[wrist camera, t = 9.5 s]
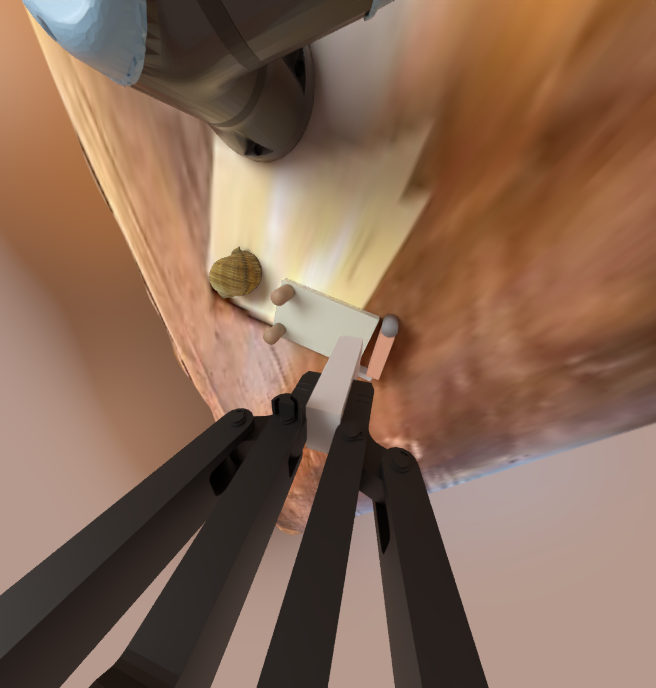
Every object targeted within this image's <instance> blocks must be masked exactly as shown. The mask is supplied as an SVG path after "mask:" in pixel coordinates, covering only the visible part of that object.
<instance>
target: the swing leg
mask: <svg viewBox="0 0 656 688" xmlns="http://www.w3.org/2000/svg"><path fill="white" fill-rule="evenodd" d="M398 322H399V321H398V318H397V317H396V316H395V315H392V314H390V315H387V316H385V317H384V319H383V323H382V326H381V329H380V332H379V335H378V338H377V341H376V344H375V347H374V350H373V353H372V356H371V359H370V362H369V365H368V369H367V373H366V376H368V377H371V378H374V379H377V380H379V378H380V375H381V373H382V370H383V367H384V365H385V362H386V360H387V357H388V354H389V352H390V349H391V346H392V344H393V341H394V339H395V336H396V335H397V333H398Z"/></svg>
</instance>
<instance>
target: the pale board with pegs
mask: <svg viewBox="0 0 656 688" xmlns="http://www.w3.org/2000/svg"><path fill="white" fill-rule="evenodd" d="M271 300H272V302H273V303H274V304H275V305H277V308H276V313H275V318H274V323H273V326H272V327H271V328H270V329H269V330H267V331H266V332H265V333H264V335H263V338H264V340H265V342H267V343H268V344H271V345H272V344H275V343H276V342H277V341H278V340H279V339H280V338H281V337H283V338H286V339H288V340H290V341H293V342H295V343H297V344H300V345H302V346H304V347H306V348H309V349H311V350H313V351H316V352H318V353H320V354H323V355H325V356H327V357H330V356H331V354H332V352H333V350H334V348H335V346H336V343H337V341H338V339H339V337H340V335H343V336H349V337H355V338H361V339H363V346H362V353H361V356H362V354H363V352H364V350H365V348H366V346H367V344H368V342H369V340H370V338H371V336H372V334H373V332H374V330H375V328H376V325H377V323H378V321H379V318H380V317H379V316H377V315H374V314H372V313H370V312H367V311H365V310H362V309H360V308H357V307H355V306H352V305H350V304H348V303H345V302H343V301H340V300H338V299H335V298H333V297H331V296H328V295H326V294H323V293H321V292H318V291H316V290H314V289H311V288H309V287H306V286H304V285H301V284H299V283H296V282H294V281H292V280H289V279H287V278H285V279H284V280H282V283H281V287H280V288H278V289H276V290H275V291H273V292H272V293H271ZM367 369H368V368H367V367H364V366H362V365H360V368H359V374H358V376H359V377H361V378H363V379H366V380H368V381H371V379H372V378H371V377H368V376H366V373H367Z"/></svg>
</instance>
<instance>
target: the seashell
mask: <svg viewBox="0 0 656 688" xmlns="http://www.w3.org/2000/svg"><path fill="white" fill-rule="evenodd" d="M209 277H210V283H211V285H212V286H213V287H214V289H215V290H217V291H218V293H219V294H220V295H221V297H222V298H228V297H234V296H241V295H245V294H247V293H250V292H251V291H253V290H254V289H255V288H257V286H258V285H259V283H260V280H261V266H260V263H259V261H258V259H257V258H256V256H255V255H254V254H252V253H249V252H247V251H242V250H240V247H238V248H236V249H235V250H233V251H232V253H231V256H228V257H225V258H222V259H220V260H218V261H216V262H215V263H214V264H213V266H212V268H211V270H210V276H209Z"/></svg>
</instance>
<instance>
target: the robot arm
mask: <svg viewBox="0 0 656 688" xmlns="http://www.w3.org/2000/svg"><path fill="white" fill-rule="evenodd" d="M393 1H394V0H22V2H23V3H24V5H25V6H26V7H27V9H28V10H29V11H30V13H31V14H32V16H33V17H34V18H35V19H36V21H37V22H38V23H39V24H40V25H41V27H42V28H43V29H44V30H45V31H46V32H47V34H48V35H49V36H50V37H51V38H52V39H53V40H55V41H56V42H57V43H59V44H60V46H61V47H62V48H64V49H65V50H66V51H67V52H68V53H70V54H71V55H72V56H74V57H75V58H77V59H78V60H80V61H82V62H83V63H85V64H87V65H89V66H90V67H92V68H94V69H95V70H97V71H99V72H101V73H102V74H104V75H106V76H107V77H109V78H110V79H111V80H112V81H113V82H115V83H117V84H119V85H123V86H125V87H126V85H127V86H128V87H131V88H134V89H136V90H138V91H140V92H142V93H144V94H146V95H149V96H151V97H153V98H155V99H157V100H159V101H161V102H164V103H166V104H168V105H170V106H172V107H174V108H177V109H179V110H181V111H183V112H185V113H187V114H189V115H192V116H194V117H196V118H198V119H200V120H203V121H205V122H207V123H208V125H209V126H210V127H211V128H212V129H213V130H214V131H215V133H216V134H217V135H218V136H219V137H220V138H221V139H222V141H223V142H224V143H225V144H226V145H227V146H229V147H230V148H231V149H232V150H234V151H235V152H237V153H238V154H240V155H242V156H244V157H247V158H249V159H252V160H255V161H260V162H269V161H274V160H277V159H279V158H281V157H283V156H285V155H286V154H287V153H289V152H290V151H291V150H292V149H293V148H294V147H295V145H296V144H297V143H298V142H299V140H300V138H301V137H302V135H303V133H304V131H305V129H306V127H307V124H308V121H309V118H310V115H311V111H312V106H313V99H314V68H313V61H312V56H311V52H310V48H309V44H311V43H313V42H315V41H317V40H319V39H321V38H323V37H325V36H327V35H329V34H331V33H333V32H335V31H337V30H339V29H341V28H343V27H345V26H347V25H349V24H351V23H353V22H355V21H357V20H359V19H361V18H364V21H367V20H369V19H371V18H372V17H373V16H374V15H375V13H376V12H377V10H378V9H380V8H382V7H384V6H386V5H387V4H389V3H391V2H393ZM362 346H363V339H361V338H355V337H349V336H343V335H340V337H339V339H338V341H337V343H336V346H335V348H334V350H333V352H332V354H331V356H330V358H329V360H328V362H327V364H326V366H325V368H324V370H323V372H322V373H317V372H312V371H308V372H307V373H305V374H304V375H302V377H301V379H300V380H299V383H298V384H297V385H296V388H295V389H294V390H293V392H292V394H290V393H285V394H280V395H278V396H276V397H274V398H273V399H272V400H271V402H272V411H273V415H269V416H253V414H252V412H251V411H249V410H248V409H244V408H239V409H235V410H232V411H230V412H228V413H227V414H225V415H224V416H223V417H222V418H220V419H219V420H218V421H217V422H215V423H214V424H213V425H212V426H210V427H209V428H208V429H207V430H206V431H204V432H203V433H202V434H201V435H199V436H198V437H197V438H195V439H194V440H193V441H192V442H190V443H189V444H188V445H187V446H186V447H184V448H183V449H182V450H181V451H179V452H178V453H177V454H176V455H174V456H173V457H172V458H171V459H169V460H168V461H167V462H166V463H165V464H163V465H162V466H161V467H159V468H158V469H157V470H156V471H154V472H153V473H152V474H151V475H149V476H148V477H147V478H146V479H144V480H143V481H142V482H141V483H140V484H139V485H137V486H136V487H135V488H133V489H132V490H131V491H130V492H128V493H127V494H126V495H125V496H123V497H122V498H121V499H120V500H118V501H117V502H116V503H115V504H113V505H112V506H111V507H110V508H109V509H107V510H106V511H105V512H103V513H102V514H101V515H100V516H99V517H97V518H96V519H95V520H94V521H92V522H91V523H90V524H89V525H87V526H86V527H85V528H84V529H82V530H81V531H80V532H79V533H77V534H76V535H75V536H74V537H72V538H71V539H70V540H69V541H67V542H66V543H65V544H64V545H63V546H61V547H60V548H59V549H57V550H56V551H55V552H54V553H52V554H51V555H50V556H49V557H48V558H46V559H45V560H44V561H43V562H41V563H40V564H39V565H38V566H36V567H35V568H34V569H33V570H31V571H30V572H29V573H28V574H26V575H25V576H24V577H23V578H21V579H20V580H19V581H18V582H17V583H15V584H14V585H13V586H11V587H10V588H9V589H8V590H6V591H5V592H4V593H3V594H2V595H0V688H60V687H61V685H62V684H63V683H64V682H65V681H66V680H67V679H68V677H69V676H70V675H71V674H72V673H73V672H74V671H75V669H76V668H77V667H78V666H79V665H80V664H81V663H82V661H83V660H84V659H85V658H86V657H87V655H89V653H90V652H91V651H92V650H93V649H94V648H95V647H96V645H97V644H98V643H99V642H100V641H101V640H102V639H103V638H104V636H105V635H106V634H107V633H108V632H109V631H110V630H111V628H112V627H113V626H114V625H115V624H116V623H117V622H118V620H119V619H120V618H121V617H122V616H123V615H124V614H125V612H126V611H127V610H128V609H129V608H130V607H131V606H132V605H133V603H134V602H135V601H136V600H137V599H138V598H139V597H140V595H141V594H142V593H143V592H144V591H145V590H146V588H147V587H148V586H149V585H150V584H151V583H152V582H153V581H154V579H155V578H156V577H157V576H158V575H159V574H160V572H161V571H162V570H163V569H164V568H165V567H166V566H167V565H168V563H169V562H170V561H171V560H172V559H173V558H174V557H175V556H176V554H177V553H178V552H179V551H180V550H181V549H182V548H183V546H184V545H185V544H186V543H187V542H188V541H189V540H190V538H191V537H192V536H193V535H194V534H195V533H196V532H197V530H198V529H199V528H200V527H201V526H202V525H203V524H204V525H203V527H202V528H201V530H200V531H199V533H198V535H197V536H196V538H195V539H194V541H193V543H192V544H191V546H190V547H189V549H188V551H187V552H186V554H185V555H184V557H183V559H182V560H181V562H180V563H179V565H178V567H177V568H176V570H175V571H174V573H173V574H172V576H171V578H170V579H169V581H168V582H167V584H166V586H165V587H164V589H163V590H162V592H161V594H160V595H159V597H158V599H157V600H156V602H155V603H154V605H153V606H152V608H151V610H150V611H149V613H148V614H147V616H146V618H145V619H144V621H143V622H142V624H141V626H140V627H139V629H138V630H137V632H136V634H135V635H134V637H133V638H132V640H131V642H130V643H129V645H128V646H127V648H126V649H125V651H124V652H123V654H122V655H121V657H120V658H119V659H118V660H117V662H115V664H114V665H113V666H112V667H111V668H110V669H108V670H107V671H106V672H105V673H104V674H102V675H101V676H100V677H99V678H98V679H96V680H95V681H94V682H93V683H92V685H91V686H90V687H89V688H210V687H211V685H212V682H213V680H214V677H215V675H216V672H217V670H218V667H219V665H220V662H221V660H222V657H223V655H224V652H225V650H226V647H227V645H228V642H229V640H230V637H231V635H232V632H233V630H234V627H235V625H236V622H237V619H238V617H239V615H240V612H241V609H242V607H243V605H244V602H245V600H246V597H247V594H248V592H249V590H250V587H251V584H252V582H253V579H254V577H255V575H256V572H257V570H258V567H259V565H260V562H261V559H262V557H263V555H264V552H265V549H266V547H267V544H268V542H269V539H270V537H271V535H272V532H273V530H274V527H275V525H276V522H277V520H278V517H279V515H280V512H281V510H282V507H283V505H284V502H285V500H286V497H287V495H288V492H289V490H290V487H291V485H292V482H293V480H294V477H295V475H296V472H297V469H298V467H299V464H300V462H301V459H302V455H303V447H304V445H305V443H306V448H309V449H313V450H316V451H320V452H323V453H327V454H328V456H327V459H326V463H325V466H324V469H323V472H322V476H321V479H320V482H319V486H318V489H317V492H316V495H315V499H314V502H313V505H312V508H311V512H310V515H309V518H308V521H307V525H306V528H305V531H304V534H303V538H302V541H301V544H300V548H299V551H298V554H297V557H296V561H295V564H294V567H293V570H292V574H291V577H290V580H289V583H288V587H287V590H286V593H285V596H284V600H283V603H282V606H281V610H280V613H279V616H278V620H277V623H276V626H275V629H274V632H273V636H272V639H271V642H270V645H269V649H268V652H267V655H266V658H265V662H264V665H263V668H262V672H261V675H260V678H259V682H258V685H257V688H328V682H329V675H330V669H331V663H332V657H333V651H334V644H335V638H336V632H337V625H338V619H339V612H340V606H341V600H342V594H343V587H344V581H345V575H346V568H347V562H348V556H349V549H350V542H351V536H352V531H353V524H354V518H355V512H356V505H357V499H358V493H359V490H360V491H361V492H362V493H364V494H365V495H367V496H368V497H369V498H371V499H372V501H373V509H374V517H375V526H376V533H377V541H378V550H379V559H380V567H381V575H382V583H383V592H384V600H385V608H386V617H387V625H388V634H389V641H390V650H391V658H392V666H393V675H394V683H395V688H489V687H488V684H487V681H486V678H485V675H484V671H483V668H482V665H481V662H480V659H479V655H478V652H477V649H476V646H475V643H474V640H473V637H472V633H471V630H470V627H469V624H468V621H467V617H466V614H465V611H464V608H463V605H462V601H461V598H460V595H459V592H458V589H457V586H456V583H455V579H454V576H453V573H452V570H451V567H450V563H449V560H448V557H447V554H446V551H445V548H444V544H443V541H442V538H441V535H440V532H439V529H438V525H437V522H436V519H435V516H434V513H433V509H432V506H431V504H430V500H429V497H428V493H427V490H426V487H425V484H424V481H423V478H422V474H421V471H420V468H419V465H418V463H417V461H416V459H415V457H414V456H413V455H412V454H411V453H410V452H408V451H407V450H405V449H403V448H398V447H393V448H389V449H386V448H384V447H382V446H381V445H379V444H378V443H376V442H375V441H374V440H373V439H372V437H371V436H370V433H369V421H370V414H371V408H372V401H373V395H374V388H373V386H372V383H369V382H364V381H359V380H357V378H358V374H359V368H360V361H361V353H362ZM205 521H206V522H205ZM204 522H205V523H204Z"/></svg>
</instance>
